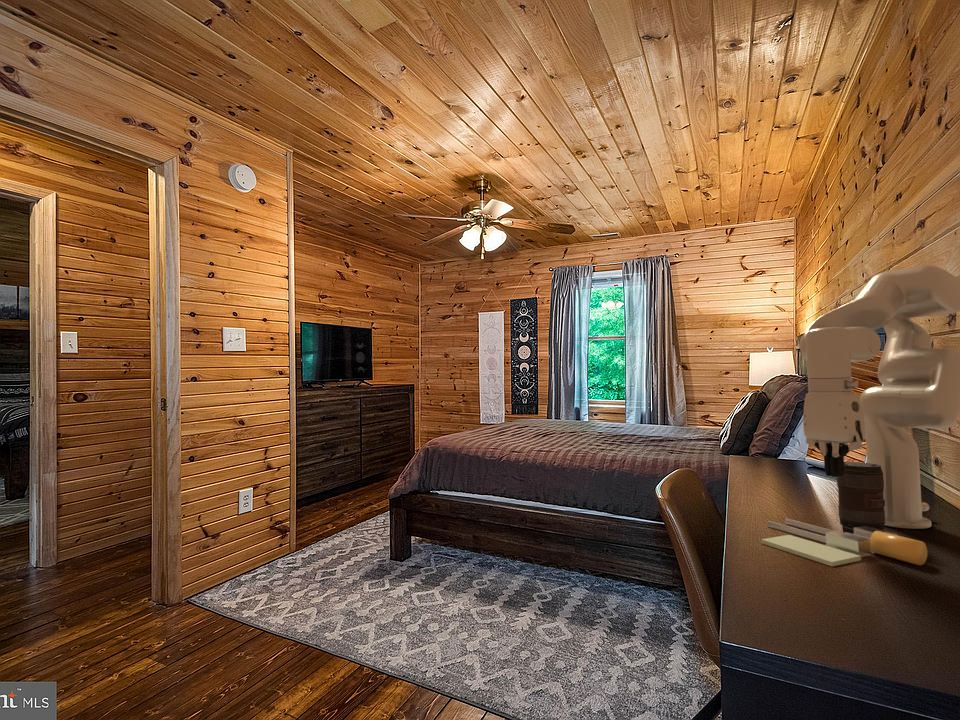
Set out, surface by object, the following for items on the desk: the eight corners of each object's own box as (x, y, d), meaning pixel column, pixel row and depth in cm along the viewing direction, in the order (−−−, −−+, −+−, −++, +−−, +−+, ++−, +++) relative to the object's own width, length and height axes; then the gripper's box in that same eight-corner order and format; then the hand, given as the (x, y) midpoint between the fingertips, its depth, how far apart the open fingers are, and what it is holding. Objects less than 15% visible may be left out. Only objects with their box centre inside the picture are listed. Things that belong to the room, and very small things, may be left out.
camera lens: (879, 531, 109) (876, 462, 110) (891, 542, 102) (888, 467, 103) (835, 527, 113) (832, 460, 113) (843, 537, 105) (840, 465, 106)
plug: (850, 542, 102) (849, 521, 102) (927, 563, 90) (926, 539, 90) (837, 545, 100) (836, 523, 100) (914, 567, 88) (912, 542, 88)
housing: (795, 522, 117) (795, 509, 117) (898, 549, 97) (897, 533, 98) (758, 527, 112) (758, 514, 113) (858, 557, 93) (858, 541, 93)
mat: (789, 538, 105) (788, 534, 105) (861, 560, 92) (861, 555, 92) (761, 543, 102) (761, 539, 102) (832, 566, 89) (831, 561, 89)
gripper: (881, 386, 99) (886, 480, 98) (806, 386, 112) (811, 468, 112) (856, 388, 96) (862, 484, 95) (783, 387, 110) (788, 471, 109)
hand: (834, 475), depth 104 cm, fingers closed
